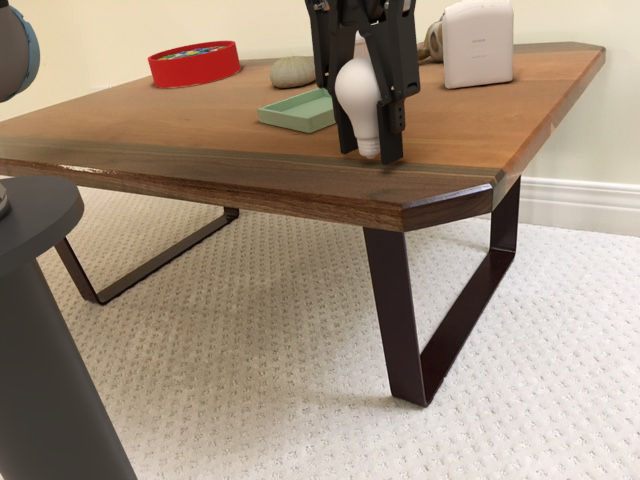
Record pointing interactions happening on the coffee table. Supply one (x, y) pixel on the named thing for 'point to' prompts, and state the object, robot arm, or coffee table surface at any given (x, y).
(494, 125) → the coffee table surface
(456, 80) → the photo printer
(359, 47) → the ramekin
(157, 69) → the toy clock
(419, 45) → the ceramic sculpture
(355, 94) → the lightbulb
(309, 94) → the tray
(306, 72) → the sea urchin shell
